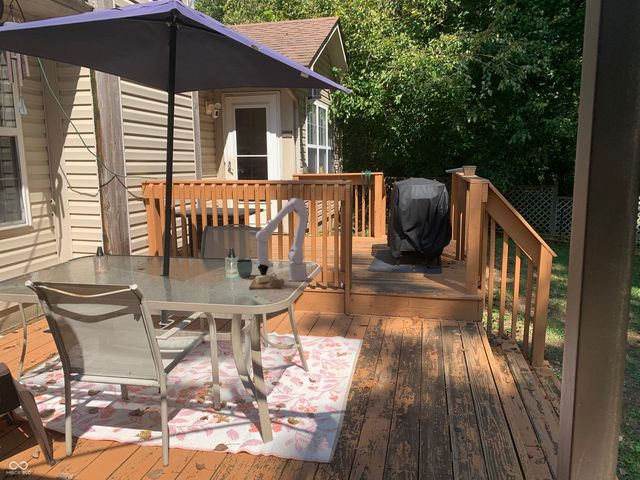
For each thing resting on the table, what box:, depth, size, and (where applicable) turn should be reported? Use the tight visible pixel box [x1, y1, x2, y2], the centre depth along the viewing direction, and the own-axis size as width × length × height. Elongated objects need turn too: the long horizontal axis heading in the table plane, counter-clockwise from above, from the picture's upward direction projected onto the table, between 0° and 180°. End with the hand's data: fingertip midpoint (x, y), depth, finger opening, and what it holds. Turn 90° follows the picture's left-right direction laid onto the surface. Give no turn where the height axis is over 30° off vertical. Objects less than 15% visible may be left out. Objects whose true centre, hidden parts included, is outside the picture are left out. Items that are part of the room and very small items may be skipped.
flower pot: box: [235, 258, 253, 278], centre depth 282 cm, size 9×9×9 cm
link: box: [254, 272, 278, 283], centre depth 263 cm, size 12×4×4 cm, turn 126°
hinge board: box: [248, 273, 284, 290], centre depth 260 cm, size 16×18×6 cm
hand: (263, 278), depth 265 cm, fingers closed, pressing on link
